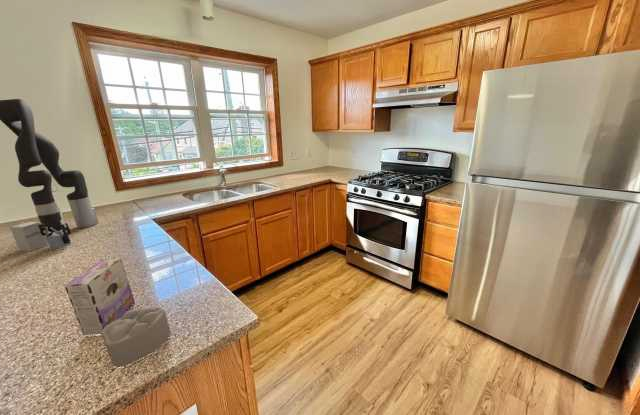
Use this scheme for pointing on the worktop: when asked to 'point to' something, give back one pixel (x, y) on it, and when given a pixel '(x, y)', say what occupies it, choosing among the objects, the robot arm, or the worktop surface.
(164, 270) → the worktop surface
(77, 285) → the candy box
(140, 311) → the grey lumpy block
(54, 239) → the blue block
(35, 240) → the supplement box
